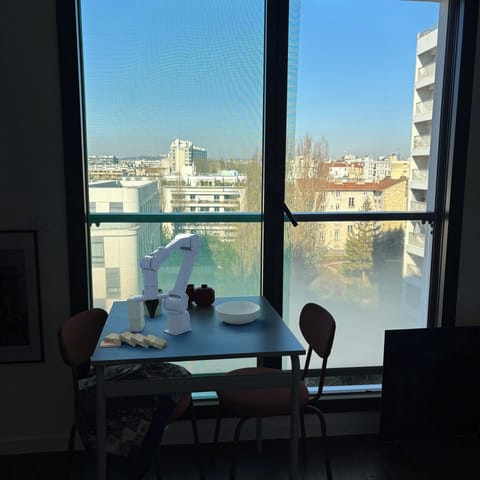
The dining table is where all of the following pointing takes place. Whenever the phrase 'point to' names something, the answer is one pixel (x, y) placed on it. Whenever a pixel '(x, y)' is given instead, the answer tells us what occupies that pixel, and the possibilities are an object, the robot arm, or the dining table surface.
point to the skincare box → (135, 314)
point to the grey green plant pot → (159, 308)
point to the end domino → (109, 344)
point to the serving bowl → (237, 312)
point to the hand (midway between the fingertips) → (152, 317)
